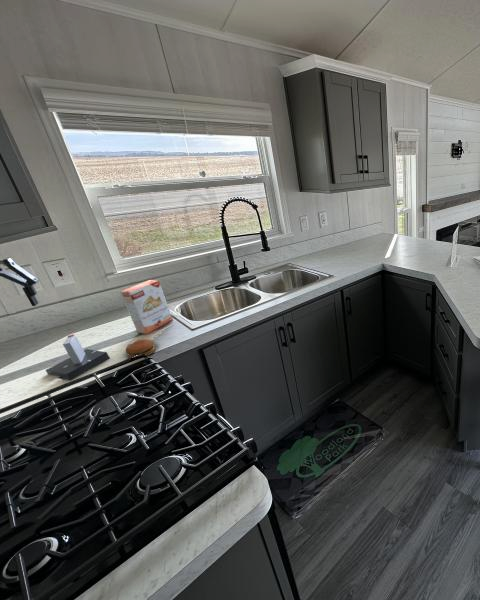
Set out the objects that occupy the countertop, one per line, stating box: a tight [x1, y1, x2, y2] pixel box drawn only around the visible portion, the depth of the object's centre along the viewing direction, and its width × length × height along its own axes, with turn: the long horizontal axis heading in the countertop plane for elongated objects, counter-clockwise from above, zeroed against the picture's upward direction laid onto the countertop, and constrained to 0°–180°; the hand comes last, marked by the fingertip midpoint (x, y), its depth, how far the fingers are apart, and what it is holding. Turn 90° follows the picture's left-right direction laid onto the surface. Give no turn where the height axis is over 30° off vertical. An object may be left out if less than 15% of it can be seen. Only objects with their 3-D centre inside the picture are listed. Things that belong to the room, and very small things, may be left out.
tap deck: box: [45, 348, 111, 382], centre depth 125 cm, size 14×11×3 cm
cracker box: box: [119, 279, 174, 335], centre depth 149 cm, size 14×6×21 cm, turn 165°
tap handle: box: [62, 334, 85, 365], centre depth 123 cm, size 7×2×9 cm, turn 30°
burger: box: [125, 338, 157, 359], centre depth 132 cm, size 10×9×5 cm
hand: (7, 309), depth 107 cm, fingers open, 13 cm apart
